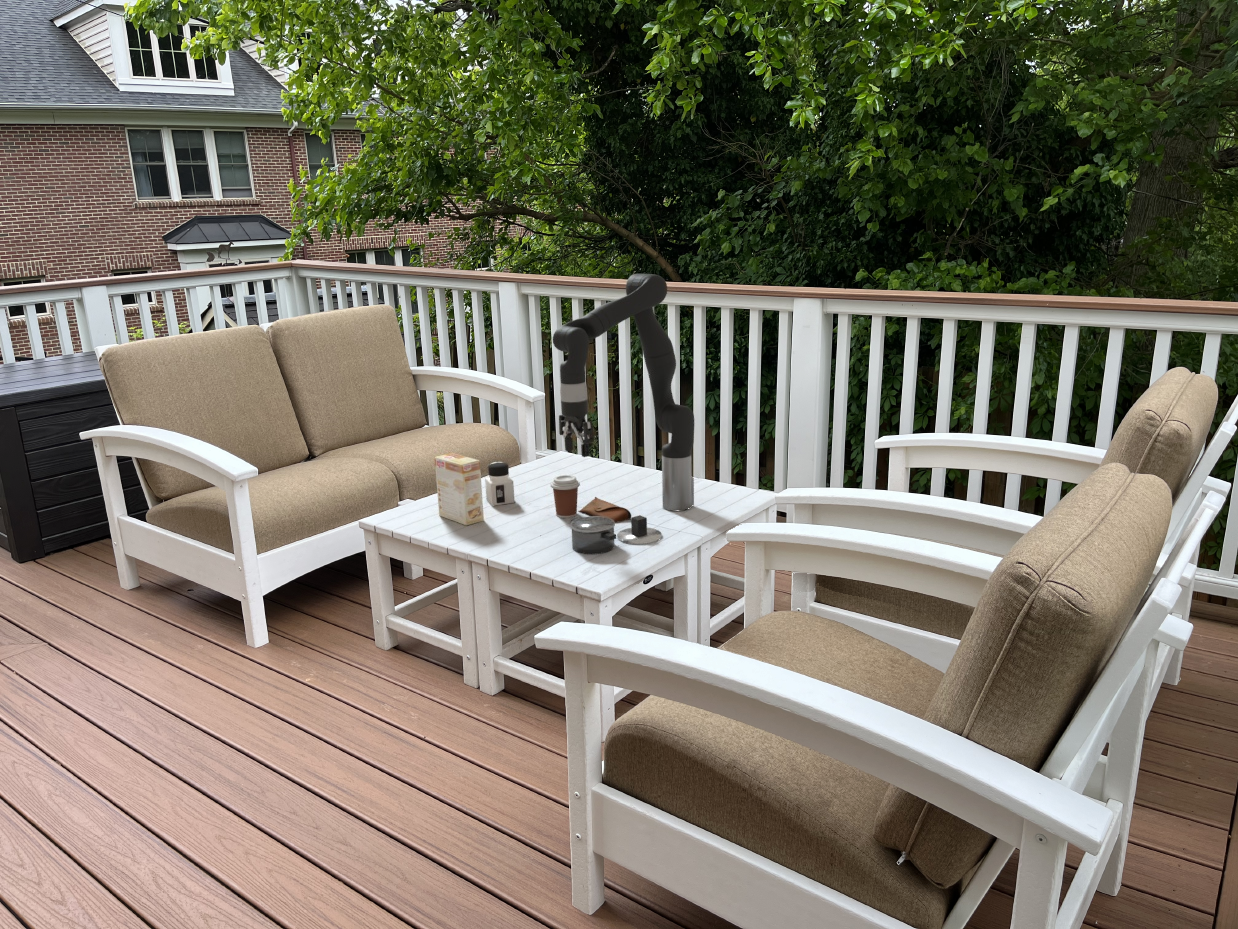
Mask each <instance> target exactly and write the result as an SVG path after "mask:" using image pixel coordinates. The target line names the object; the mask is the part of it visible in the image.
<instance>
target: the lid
mask: <svg viewBox="0 0 1238 929" xmlns="http://www.w3.org/2000/svg"><path fill="white" fill-rule="evenodd" d="M630 522H631V527H629V528H624V529H622V530H620V531H619V532H617V534H616V539H617V540H618V541H619V542H621V543H623V544H628V545H638V546H639V545H649V544H653V543H656V542H658V540H659V539H660V538H661V537H663V534H662V532H661V531H660V530H659V529H655V528H652V527H648V519H647V517H646V516H644V515H640V514H639V515H636V516H631V519H630ZM661 539H662V538H661ZM661 539H660V540H661ZM660 540H659V541H660Z"/></svg>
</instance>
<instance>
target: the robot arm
mask: <svg viewBox="0 0 1238 929" xmlns="http://www.w3.org/2000/svg"><path fill="white" fill-rule="evenodd" d="M667 284H668V283H667V282H666V279H665V278H663V277H662V276H660V275H659V274H655V273H653V274H652V273H634V274H631V275H630V276H629V277H628V279H627V281H626V284H625V294H626V295H624V296H622V297H620V298H617V299H614V300H612V301H608V302H606V303H604V304H602V305H599V306H598V307H596V308H594V309H593V310H591V311H589V312H588V313H587V314H585V315H584V316H582V317H580V318H579V317H578V318H576V319H573V320H571V321H568V322H565V323H563V324H562V325H560V326H559V327H558V328H557V329H556V330H555V331H554V333H553V334H552V335H553V336H552V344H553V346H554V347H555V349H557V350H558V351H561V352H565V353H566V352H567V353H568V356H567V360H565V361H562V362H561V363H560V365H559V375H560V376H559V377H560V390H559V391H560V406H561V407H560V408H561V414H560V415H558V433H559V435H560V436H562V438H563V439H564V450H565V451H566V452H572V451H573V450H574V446H573V445H574V442H573V435H575V436H576V438H577V439H579V441H580V443H581V444H580V448H581V451H580V452H581V453H580V454H581V457H583V458H587V457H590V444H591V443H594V442H595V439H594V425H593V424H594V423H593V421H591V420H590V421H587V420H586V415H588V414H589V402H588V400H589V399H588V388H587V382H586V381H587V380H586V379H587V377H586V364H587V360H588V354H589V349H590V340H592V339H596V338H598V337H600V336H602V335H603V334H605V333H606V332H608V331H609V330H611V329H613V328H614V327H615V326H618V325H619V324H621V323H622V322H624V321H625V320H628V319H630V318H631V317H633V319H634V322H635V325H636V329H637V333H638V337H639V341H640V343H641V349H642V355H643V358H644V359H643V360H644V363H645V367H646V370H647V371H646V372H647V373H648V374H647V375H648V378H649V382H650V383H649V384H650V389H651V394H652V400H653V408H654V416H655V417H654V418H655V421H656V425H657V427H658V428H659V430H661V431H663V432H664V433H669V434H671V438H670V442H669V443H665V444H663V446H662V447H661V478H662V479H661V484H662V485H661V486H662V492H661V493H662V508H663V509H664V510H666V511H670V510H683V511H685V510H684V509H688V508H690V507H691V506H692V505H694V506H695V488H694V487H695V480H694V479H695V478H694V477H693V476H692V449H693V446H694V441H695V415H694V412H693V410H692V409H691V408H690V407H689V406H687V405H681V404H677V403H676V402H675V400H674V396H673V393H672V382H673V380H674V379H673V378H674V376H675V373H676V369H677V360H676V354H675V350H674V345H673V343H672V341H671V338H670V336H669V335H668V334H667V333H666V330H664V327H662V325H661V324H660V322H659V321H658V319H657V317H656V314H655V312H654V308H653V307H656V306H658V305H660V304H662V302H664V300H665V299H666V297H667V294H668V285H667ZM692 507H693V506H692ZM692 507H691V508H692ZM691 508H690V509H691ZM688 510H689V509H688Z"/></svg>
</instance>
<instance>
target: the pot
mask: <svg viewBox="0 0 1238 929" xmlns="http://www.w3.org/2000/svg"><path fill="white" fill-rule="evenodd" d="M569 522H570V523H569V524H570V529H571V543H572V544H571V546H572V550H573V551H575V553H579V554H584V555H601V554H606V553H608V552H610V551H612V550H614V548H615V540H616V539H617V534H616V533H615V525H616V523H615V522H614V520H612V519H610V518H607V517H601V516H590V515H588V516H583V517H574V518H573V517H572V518H571V519H570V520H569Z"/></svg>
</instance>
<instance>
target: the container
mask: <svg viewBox="0 0 1238 929" xmlns="http://www.w3.org/2000/svg"><path fill="white" fill-rule="evenodd" d="M487 469H488V471H487V472H488V477H484V482H485V483H484V485H485V495H486V496H485V497H486V498H485V499H486V500H487V502H488V503H489V504H490V505H491V506H492V507H493V506H494V507H495V506H499V505H500V506H501V505H502V506H503V505H509V504H513V503H515V502H516V501H515V487H514V486H515V484H514V480H513V479H512V478H511V477H510V475H509V474H510V472H509V464H508V463H506V462H504V461H495V462H492V463H490V464H489V465H487Z"/></svg>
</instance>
